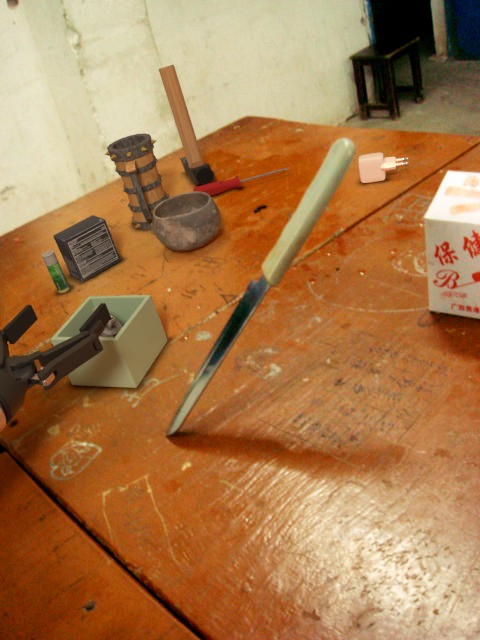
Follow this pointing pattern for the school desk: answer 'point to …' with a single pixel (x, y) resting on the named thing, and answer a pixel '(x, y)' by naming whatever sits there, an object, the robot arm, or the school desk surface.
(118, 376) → the trash bin
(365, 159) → the power adapter
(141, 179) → the mug
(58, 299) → the school desk surface
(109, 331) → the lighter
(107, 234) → the small box
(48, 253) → the battery
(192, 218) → the bowl
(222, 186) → the screwdriver
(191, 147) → the hammer
